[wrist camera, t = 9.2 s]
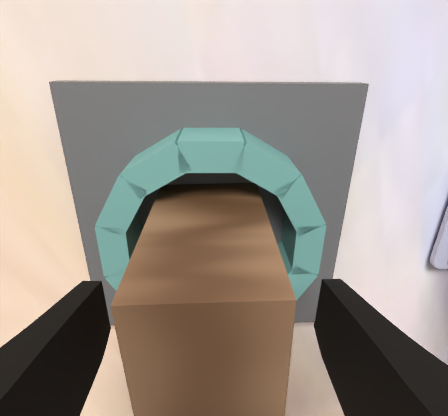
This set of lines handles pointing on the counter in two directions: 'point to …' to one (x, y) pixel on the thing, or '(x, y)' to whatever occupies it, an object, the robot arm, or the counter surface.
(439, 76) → the counter surface
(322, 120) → the collar
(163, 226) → the walnut peg
